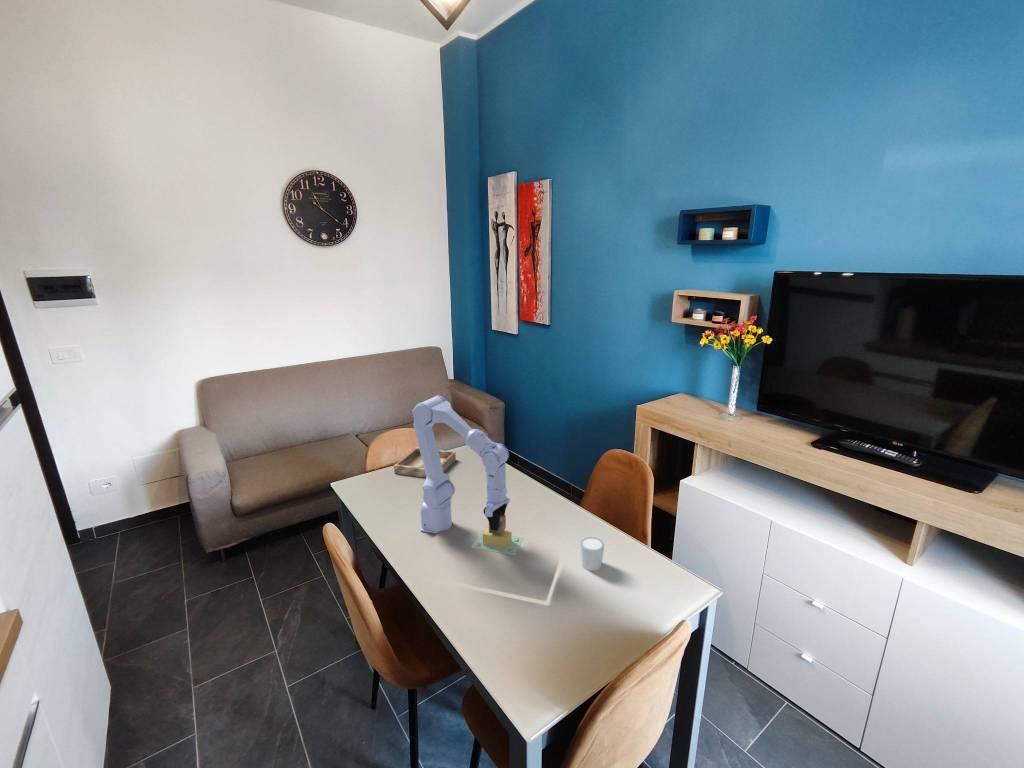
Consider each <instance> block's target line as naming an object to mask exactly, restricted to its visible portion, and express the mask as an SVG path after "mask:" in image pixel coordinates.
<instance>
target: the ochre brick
mask: <svg viewBox="0 0 1024 768" xmlns="http://www.w3.org/2000/svg"><path fill="white" fill-rule="evenodd" d="M483 531H484V533H483V544H485V545H491V546H496V547H502V548H507V549H508V547H509V545H510V543H511V542H512V536H513V534H512V533H513V532H512V530H508V529H505V530H504V532H503V534H502V535H498V534H492V533H489V526H487V527H486V528H485V530H483Z"/></svg>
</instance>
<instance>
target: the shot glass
mask: <svg viewBox="0 0 1024 768" xmlns="http://www.w3.org/2000/svg"><path fill="white" fill-rule="evenodd" d="M579 546H580V547H579V548H580V562H581V567H582V568H583V569H585V571H590V572H596V571H598V570H600V569H601V567H602V563H603V562H602V561H603V557H604V550H605V543H604V541H603V540H602V539H600V538H598V537H595V536H587V537H584V538H581V540H580V542H579Z"/></svg>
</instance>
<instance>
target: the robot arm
mask: <svg viewBox="0 0 1024 768" xmlns="http://www.w3.org/2000/svg"><path fill="white" fill-rule="evenodd" d="M411 413H412V416H413V429H414V433H415V437H416V441H417V444H418V448H419V449H420V453H421V457H422V461H423V465H424V469H425V473H426V477H427V478H425V481H424V483H423V485H422V490H423V494H422V499H423V503H422V504H421V508H420V521H421V522H420V523H421V528H420V532H425V533H430V534H435V535H437V534H438V533H439V532H445V531H447V530H449V529H451V528H452V526H453V521H452V520H453V519H452V517H453V516H452V503H451V501H452V499H453V498H452V497H453V496H454V495H455V492H456V488H455V487H456V486H455V485H454V483H453V482H452V480H451V477H450V475H449V474H447V473H445V472H443V469H442V465H441V461H440V457H439V453H438V450H439V449H438V445H437V441H436V437H435V433H434V430H433V429H434V428H433V427H434V425H435V424H442V423H443V424H446V425H447V426H448V427H449V428H451V429H453V430H454V431H455V432H456V433H458V434H459V435H461V436H462V437H463V438H464V442H465V445H466V446H467V447H469V448H470V449H471V451H472V452H474V453H475V454H477V456H479V457H480V458H481V461H482V464H483V467H485V474H486V477H485V478H486V500H485V505H486V506H485V507H484V509H483V514H484V516H485V517H486V518H487V521H488V525H489V524H490V528H491V530H496V531H498V528H499V522H500V517H501V514H503V515H506V509H507V507H508V504H509V503H510V502H511V499H510V498H508V497H507V494H508V487H506V486H507V481H506V480H507V478H506V477H507V476H506V474H507V471H506V462H507V461H508V459H509V457H510V453H509V450H508V448H507V447H506V446H505V445H504V444H503V443H497V442H496V441H493V440H492V439H490V437H488V436H487V435H486V434H485V433H484V431H483V430H480V429H478V428H472V427H471V426H470V425H468V423H467V422H466V421H465V420H464V419H463V418H462V417H460V415H459V414H458V413H457V412H456V411H455V410H454V409H453V408H452V406H451V402H449V401H448V400H446V398H445V397H444V396H442V395H435V396H433V397H431V398H429V399H427V400H424V401H422V402H419V403H417V404H416V405H415V406H414V408H413V409H412V410H411Z"/></svg>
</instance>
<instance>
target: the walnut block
mask: <svg viewBox="0 0 1024 768" xmlns="http://www.w3.org/2000/svg"><path fill="white" fill-rule="evenodd" d="M506 520H507V519H506V514H505V515H503V514H501V517H500V522H499V528H498V531H496V530H491V528H490V524H489V523H488V527H489V533H492V534H498V535H502V534H503V532H504V530H506V528H507V525H506V524H507V522H506Z"/></svg>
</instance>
